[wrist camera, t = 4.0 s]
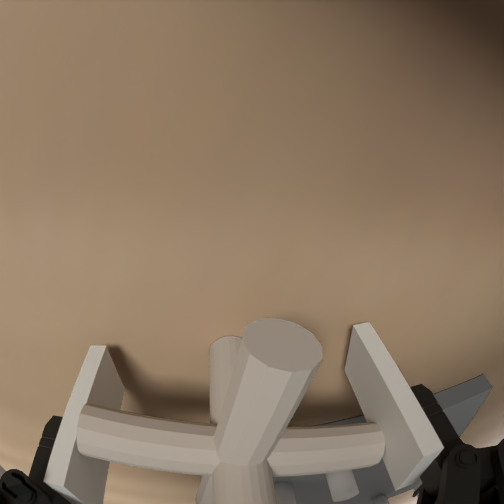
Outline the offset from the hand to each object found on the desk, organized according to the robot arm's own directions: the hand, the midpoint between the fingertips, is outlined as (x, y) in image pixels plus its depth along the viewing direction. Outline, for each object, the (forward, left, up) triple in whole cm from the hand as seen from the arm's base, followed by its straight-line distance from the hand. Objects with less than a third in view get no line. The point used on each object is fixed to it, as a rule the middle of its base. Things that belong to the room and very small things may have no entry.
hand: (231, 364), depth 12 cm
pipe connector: (0, 0, -1) cm, 1 cm away
